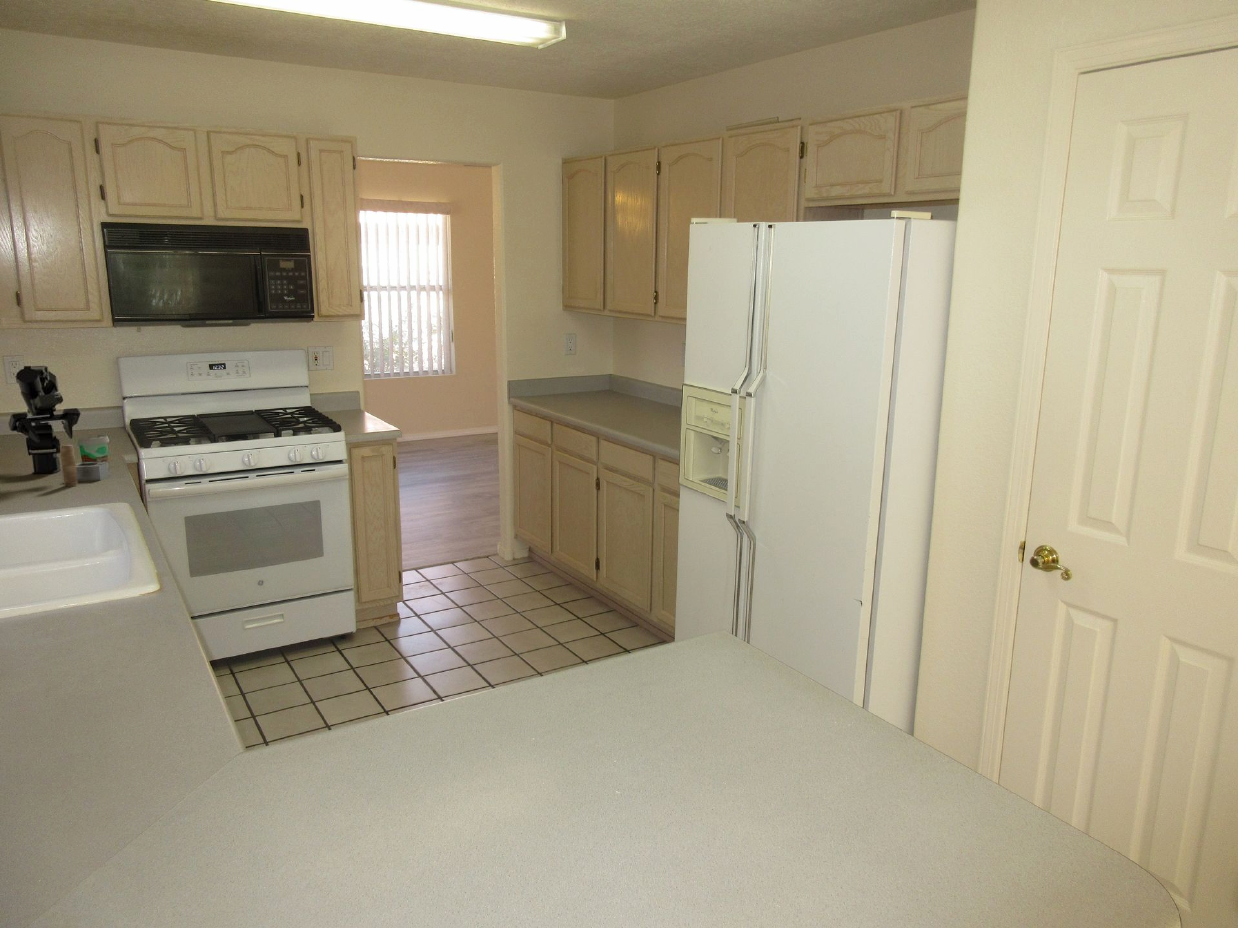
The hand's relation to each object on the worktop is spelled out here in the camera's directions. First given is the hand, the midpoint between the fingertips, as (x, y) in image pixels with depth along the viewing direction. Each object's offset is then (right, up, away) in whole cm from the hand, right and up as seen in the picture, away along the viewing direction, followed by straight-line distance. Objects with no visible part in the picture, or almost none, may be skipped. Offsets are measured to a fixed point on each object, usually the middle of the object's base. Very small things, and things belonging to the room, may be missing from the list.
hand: (55, 439), depth 271 cm
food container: (-5, -8, +31) cm, 33 cm away
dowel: (+6, -14, -2) cm, 16 cm away
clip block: (+5, -12, +9) cm, 16 cm away
